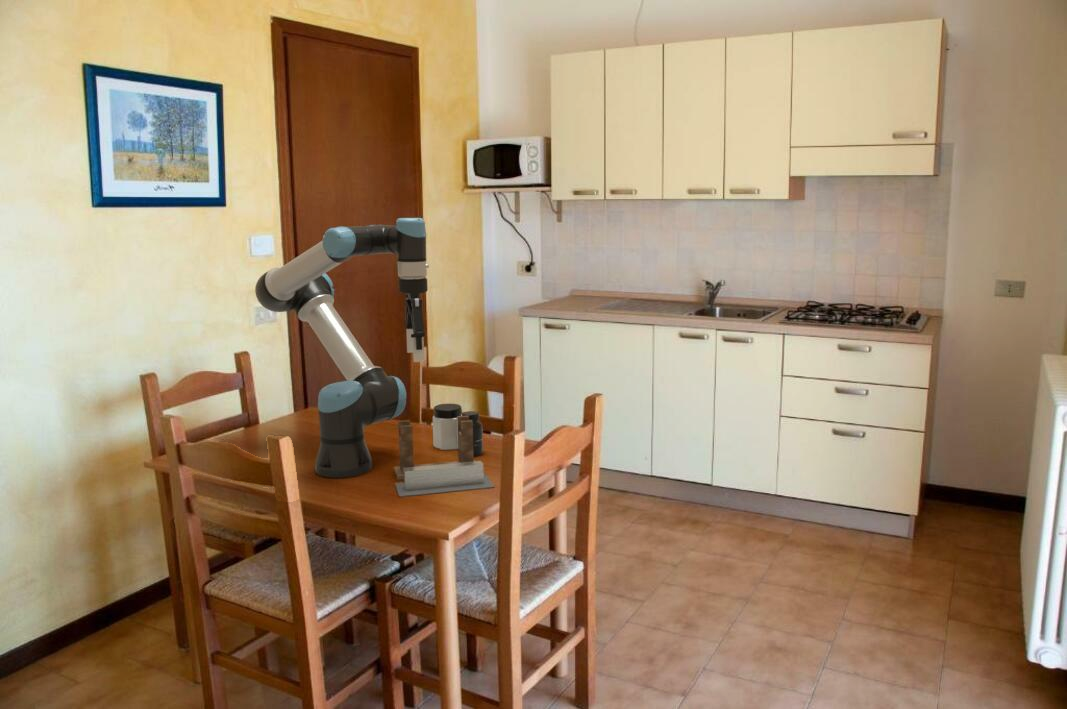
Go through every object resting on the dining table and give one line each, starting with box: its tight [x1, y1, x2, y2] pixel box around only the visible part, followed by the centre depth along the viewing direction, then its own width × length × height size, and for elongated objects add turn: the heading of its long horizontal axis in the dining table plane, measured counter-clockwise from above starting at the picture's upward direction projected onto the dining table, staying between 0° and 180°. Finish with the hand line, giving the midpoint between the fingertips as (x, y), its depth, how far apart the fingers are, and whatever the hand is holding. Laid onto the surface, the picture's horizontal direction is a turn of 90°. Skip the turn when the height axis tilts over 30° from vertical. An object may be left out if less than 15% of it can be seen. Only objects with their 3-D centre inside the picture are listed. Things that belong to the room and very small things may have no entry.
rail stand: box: [393, 416, 475, 481], centre depth 226 cm, size 22×8×14 cm, turn 105°
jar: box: [432, 403, 463, 451], centre depth 249 cm, size 9×8×12 cm
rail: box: [403, 460, 485, 490], centre depth 216 cm, size 20×3×5 cm, turn 105°
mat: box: [394, 473, 495, 498], centre depth 216 cm, size 24×10×1 cm, turn 105°
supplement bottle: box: [462, 410, 484, 457], centre depth 242 cm, size 7×7×12 cm
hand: (415, 357), depth 226 cm, fingers open, 13 cm apart
